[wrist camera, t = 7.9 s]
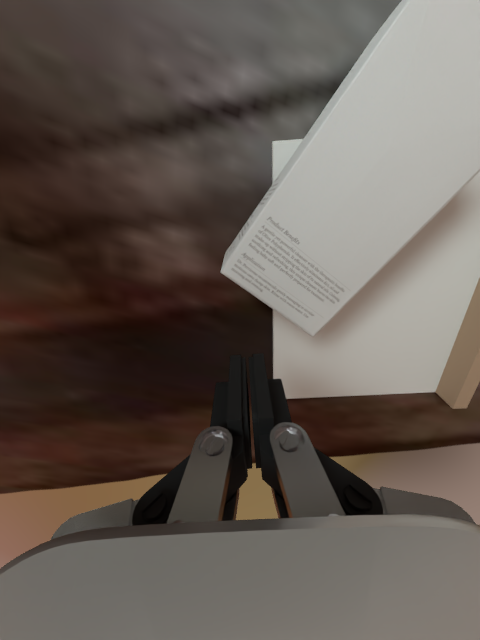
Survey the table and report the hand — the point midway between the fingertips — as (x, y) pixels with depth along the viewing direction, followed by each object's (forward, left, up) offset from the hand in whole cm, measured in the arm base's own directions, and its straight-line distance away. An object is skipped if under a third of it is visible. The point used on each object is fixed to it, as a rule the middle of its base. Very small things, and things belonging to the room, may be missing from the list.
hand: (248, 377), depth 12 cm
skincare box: (-2, +1, -7) cm, 8 cm away
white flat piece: (0, +12, -11) cm, 16 cm away
